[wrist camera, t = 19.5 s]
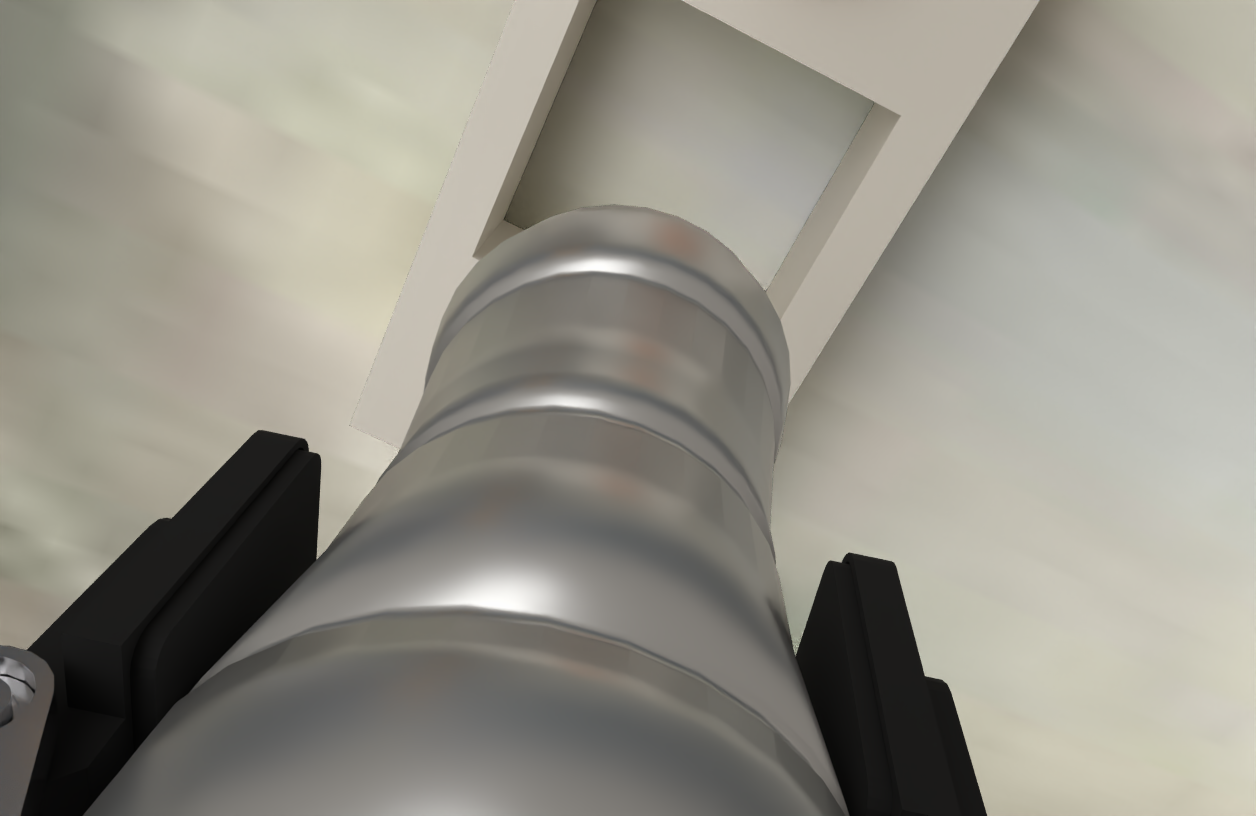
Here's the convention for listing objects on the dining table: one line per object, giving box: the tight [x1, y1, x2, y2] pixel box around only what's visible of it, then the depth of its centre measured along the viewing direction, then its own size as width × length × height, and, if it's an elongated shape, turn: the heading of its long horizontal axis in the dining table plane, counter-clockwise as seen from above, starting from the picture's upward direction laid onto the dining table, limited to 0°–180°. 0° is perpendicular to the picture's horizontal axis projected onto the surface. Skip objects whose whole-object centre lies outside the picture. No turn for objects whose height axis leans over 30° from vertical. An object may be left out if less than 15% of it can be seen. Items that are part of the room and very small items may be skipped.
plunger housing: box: [349, 0, 1040, 449], centre depth 34 cm, size 27×14×5 cm, turn 155°
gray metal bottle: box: [83, 205, 849, 816], centre depth 12 cm, size 6×7×20 cm
